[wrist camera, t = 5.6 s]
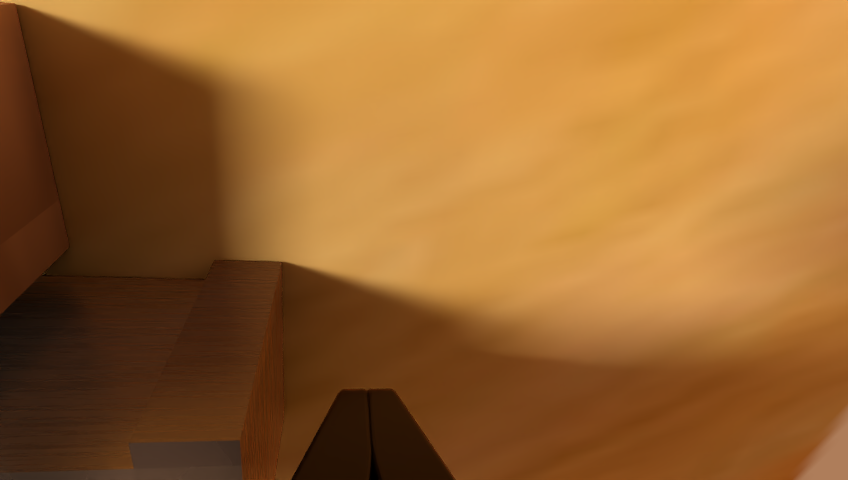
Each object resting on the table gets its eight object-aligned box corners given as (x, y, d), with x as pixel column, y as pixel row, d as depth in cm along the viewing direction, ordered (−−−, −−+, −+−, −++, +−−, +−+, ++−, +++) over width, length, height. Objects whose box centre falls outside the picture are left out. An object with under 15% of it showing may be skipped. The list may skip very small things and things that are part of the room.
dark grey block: (284, 414, 10) (252, 625, 6) (-22, 418, 9) (-226, 663, 6) (281, 262, 8) (239, 440, 5) (-84, 251, 7) (-404, 455, 4)
